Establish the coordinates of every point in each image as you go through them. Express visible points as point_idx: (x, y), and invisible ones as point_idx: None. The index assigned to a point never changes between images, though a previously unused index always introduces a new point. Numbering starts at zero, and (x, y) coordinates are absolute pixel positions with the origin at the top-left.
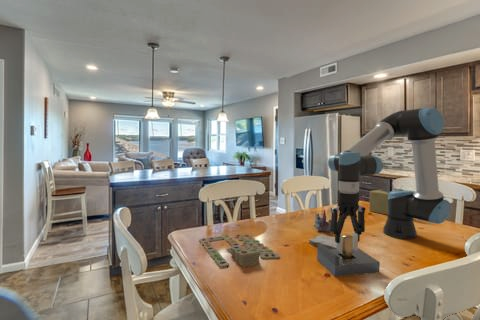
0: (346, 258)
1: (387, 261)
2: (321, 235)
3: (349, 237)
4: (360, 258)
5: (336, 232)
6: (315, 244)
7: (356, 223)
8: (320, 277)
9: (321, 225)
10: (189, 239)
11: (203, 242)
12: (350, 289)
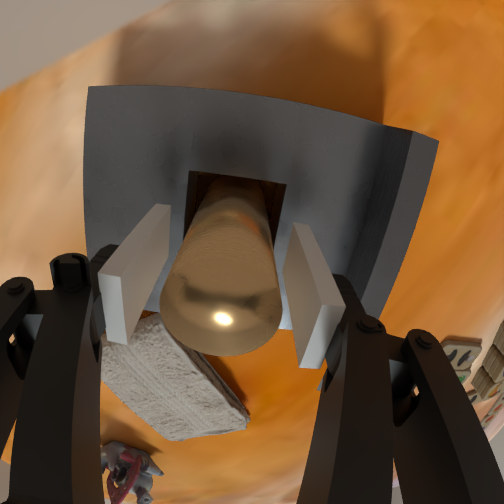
0: (256, 196)
1: (16, 187)
2: (175, 436)
3: (225, 272)
4: (167, 159)
5: (391, 350)
6: (235, 404)
7: (50, 401)
8: (440, 154)
9: (140, 467)
10: (488, 430)
11: (491, 419)
12: (389, 16)
